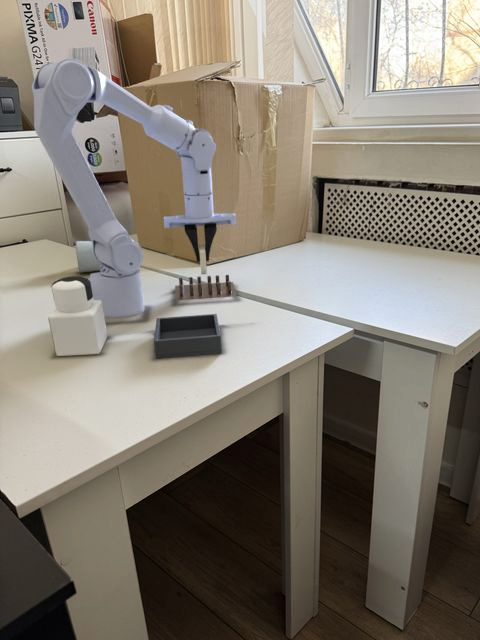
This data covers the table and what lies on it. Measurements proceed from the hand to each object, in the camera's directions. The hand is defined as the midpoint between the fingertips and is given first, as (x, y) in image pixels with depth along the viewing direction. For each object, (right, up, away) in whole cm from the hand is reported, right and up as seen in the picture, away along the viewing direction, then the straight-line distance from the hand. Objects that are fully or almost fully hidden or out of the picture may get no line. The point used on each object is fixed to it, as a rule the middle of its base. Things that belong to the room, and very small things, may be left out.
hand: (202, 260), depth 107 cm
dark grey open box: (0, -18, -20) cm, 26 cm away
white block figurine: (-18, -19, -20) cm, 33 cm away
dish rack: (0, -7, +3) cm, 8 cm away
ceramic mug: (-30, +5, +22) cm, 38 cm away
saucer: (0, -3, +1) cm, 3 cm away
